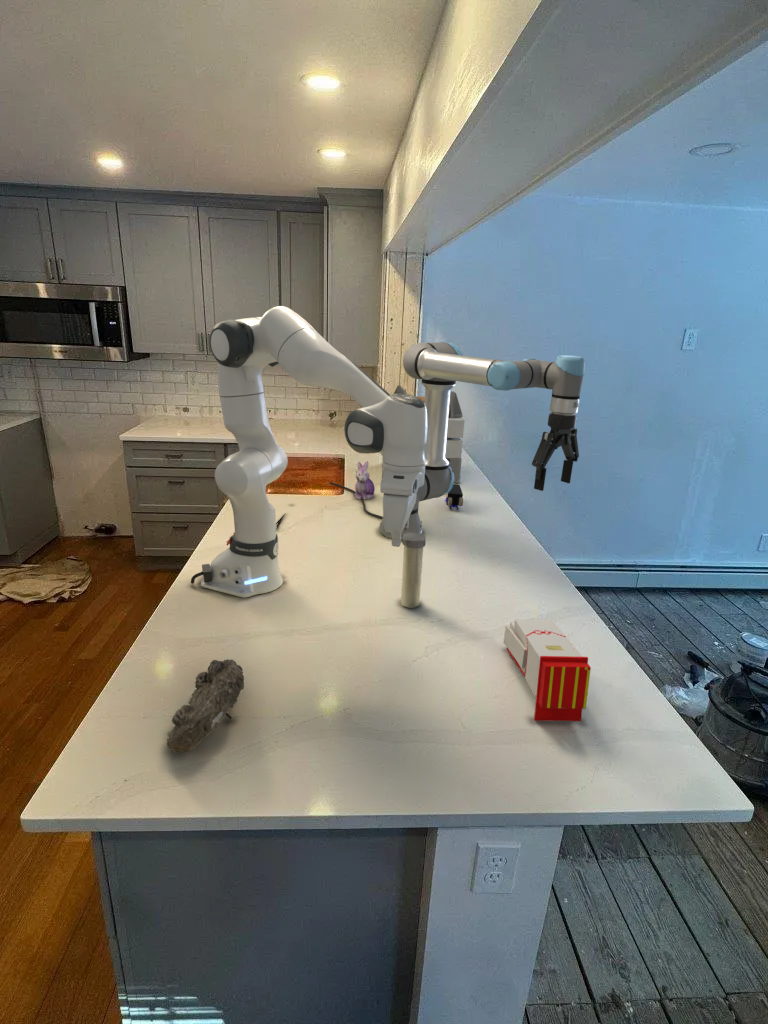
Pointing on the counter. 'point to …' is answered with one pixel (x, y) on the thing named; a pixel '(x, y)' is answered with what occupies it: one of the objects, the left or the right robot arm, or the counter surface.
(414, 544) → the lid
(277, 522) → the feather
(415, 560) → the bottle
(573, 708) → the toy
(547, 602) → the counter surface
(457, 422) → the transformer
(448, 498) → the figurine character
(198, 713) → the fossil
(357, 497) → the figurine
